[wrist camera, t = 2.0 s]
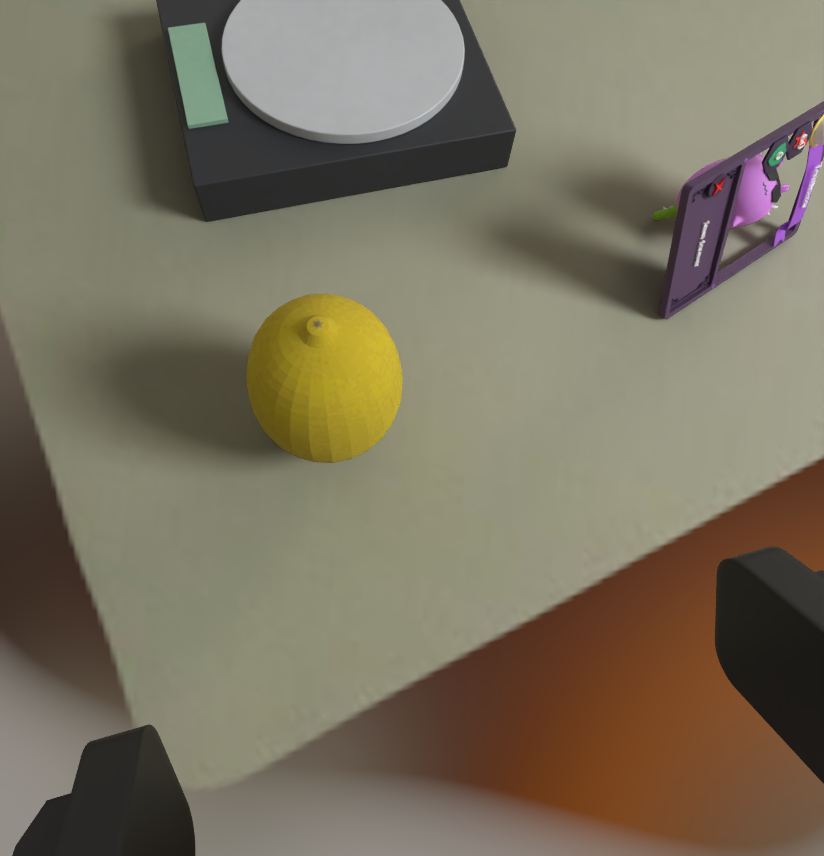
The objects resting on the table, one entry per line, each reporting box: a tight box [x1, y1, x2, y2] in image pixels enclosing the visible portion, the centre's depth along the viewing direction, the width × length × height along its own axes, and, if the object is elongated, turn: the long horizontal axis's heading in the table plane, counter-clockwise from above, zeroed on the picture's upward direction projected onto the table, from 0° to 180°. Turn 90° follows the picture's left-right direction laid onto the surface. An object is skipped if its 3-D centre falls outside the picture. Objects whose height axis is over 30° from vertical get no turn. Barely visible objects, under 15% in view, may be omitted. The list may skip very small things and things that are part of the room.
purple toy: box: [653, 102, 824, 319], centre depth 30 cm, size 7×5×9 cm
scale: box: [156, 0, 516, 221], centre depth 34 cm, size 15×13×3 cm
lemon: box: [246, 294, 403, 463], centre depth 24 cm, size 6×6×8 cm
